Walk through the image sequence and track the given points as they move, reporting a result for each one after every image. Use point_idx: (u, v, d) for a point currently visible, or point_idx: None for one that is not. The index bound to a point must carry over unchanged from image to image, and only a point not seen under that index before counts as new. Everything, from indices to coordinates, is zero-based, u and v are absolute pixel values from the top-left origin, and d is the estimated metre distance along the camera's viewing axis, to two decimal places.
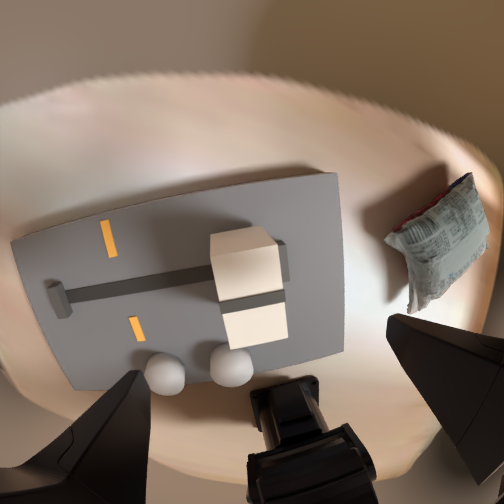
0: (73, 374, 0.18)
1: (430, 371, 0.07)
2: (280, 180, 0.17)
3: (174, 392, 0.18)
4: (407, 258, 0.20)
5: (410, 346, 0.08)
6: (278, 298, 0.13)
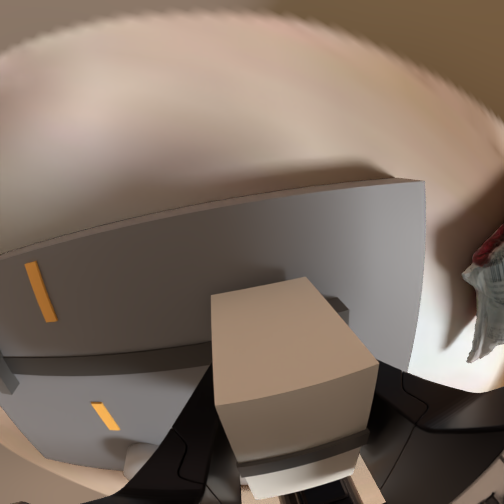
0: (40, 445, 0.10)
1: None
2: (341, 191, 0.09)
3: None
4: (480, 296, 0.12)
5: None
6: (354, 444, 0.05)
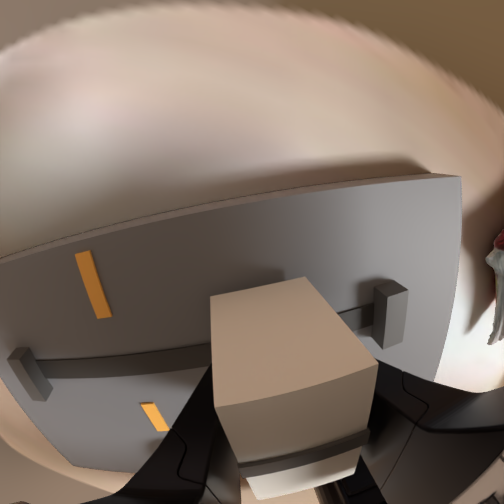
0: (69, 452, 0.11)
1: None
2: (400, 183, 0.09)
3: None
4: (500, 280, 0.12)
5: None
6: (355, 443, 0.05)
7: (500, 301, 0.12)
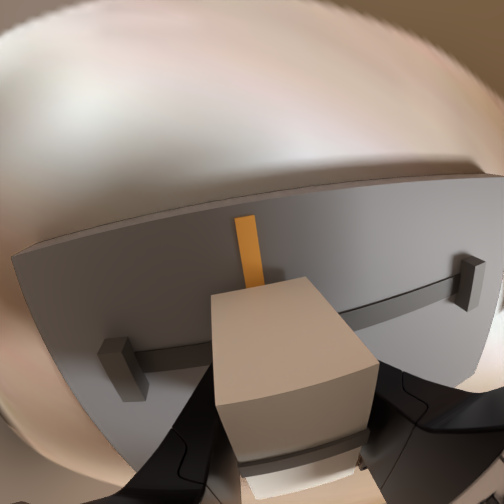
0: (138, 458, 0.11)
1: None
2: (478, 179, 0.09)
3: None
4: None
5: None
6: (355, 443, 0.05)
7: None
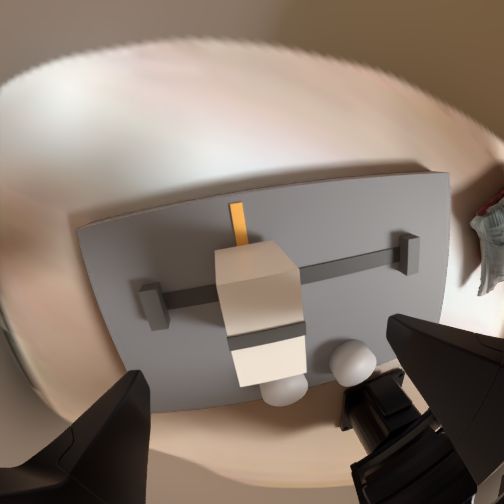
0: (153, 395, 0.17)
1: (430, 371, 0.07)
2: (412, 175, 0.15)
3: (292, 401, 0.16)
4: (483, 242, 0.18)
5: (410, 346, 0.08)
6: (298, 331, 0.11)
7: (484, 259, 0.18)
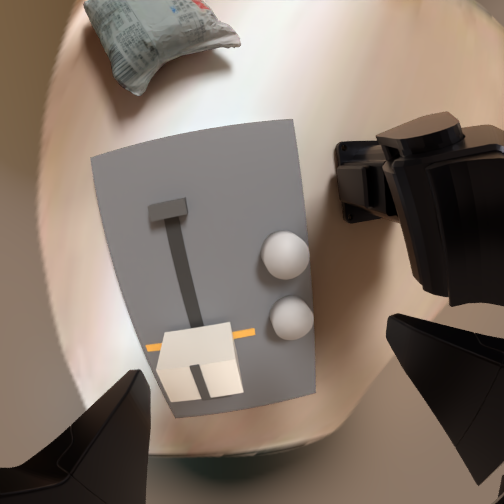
0: (297, 391, 0.24)
1: (430, 371, 0.07)
2: (100, 210, 0.17)
3: (309, 314, 0.19)
4: (165, 60, 0.15)
5: (410, 346, 0.08)
6: (196, 370, 0.15)
7: (185, 53, 0.15)
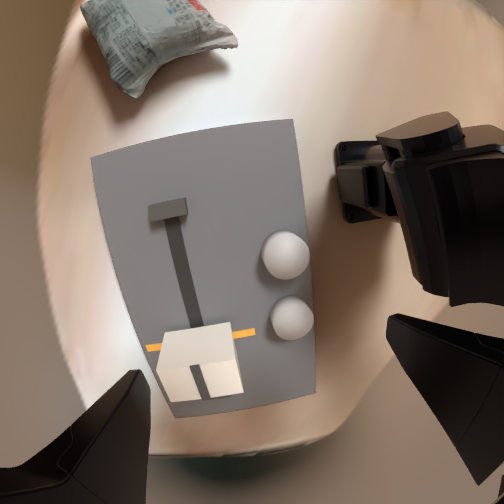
0: (297, 391, 0.24)
1: (430, 371, 0.07)
2: (100, 210, 0.17)
3: (310, 314, 0.19)
4: (162, 62, 0.15)
5: (410, 346, 0.08)
6: (196, 370, 0.15)
7: (183, 55, 0.15)
